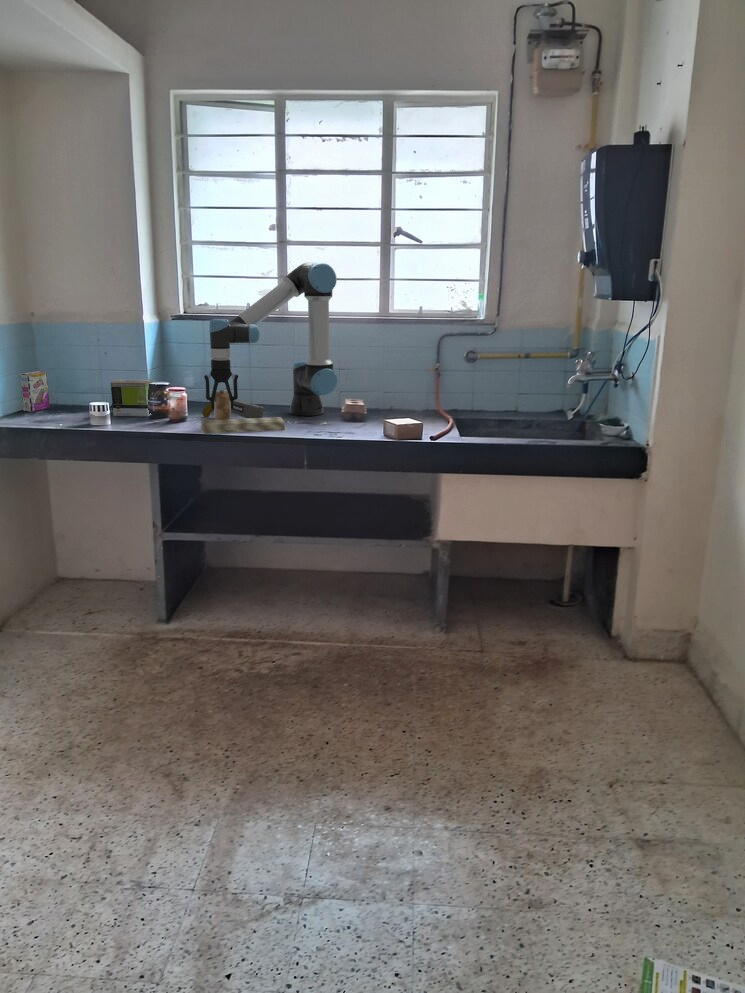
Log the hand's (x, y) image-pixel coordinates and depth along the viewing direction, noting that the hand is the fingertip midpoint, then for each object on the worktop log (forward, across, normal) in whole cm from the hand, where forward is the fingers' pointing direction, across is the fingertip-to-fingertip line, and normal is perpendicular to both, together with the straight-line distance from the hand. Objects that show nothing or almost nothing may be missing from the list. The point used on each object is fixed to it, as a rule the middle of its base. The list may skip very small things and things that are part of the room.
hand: (222, 416), depth 296 cm
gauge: (+1, 0, +4) cm, 4 cm away
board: (+4, -7, +8) cm, 11 cm away
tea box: (+4, +34, -32) cm, 47 cm away
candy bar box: (+4, +74, -51) cm, 90 cm away
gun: (+4, -6, -15) cm, 17 cm away
